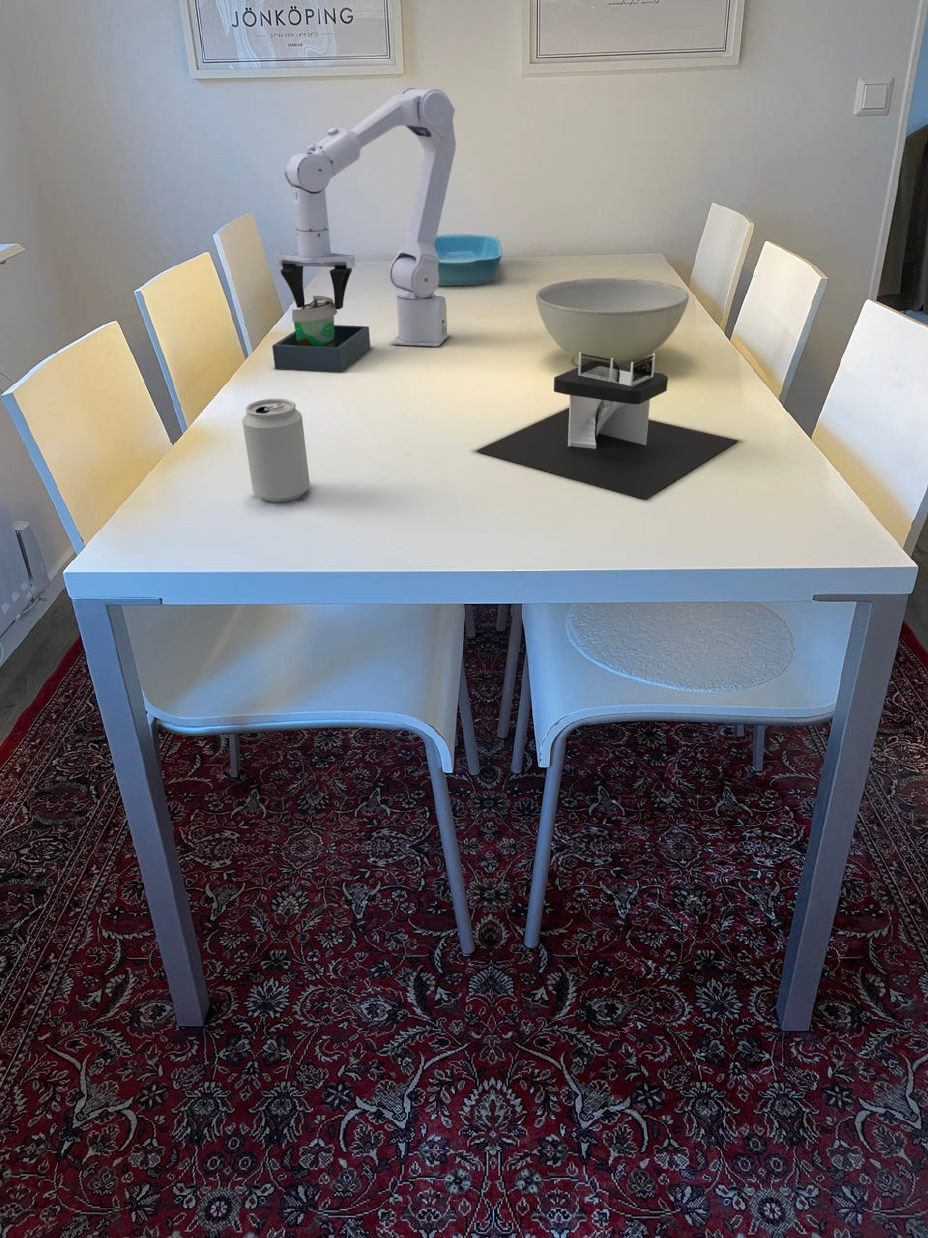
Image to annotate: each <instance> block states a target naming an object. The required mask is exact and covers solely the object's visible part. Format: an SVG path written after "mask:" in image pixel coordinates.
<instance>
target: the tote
mask: <svg viewBox="0 0 928 1238" xmlns="http://www.w3.org/2000/svg"><path fill="white" fill-rule="evenodd" d="M334 345H335V347H317V346H298V345H297V339H296V332H295V330H293V331H292V332H291V333H290V334H288V335H286V336H285V337H283V338H282V339H280V340H279V341H277V342H276V343H273V344H272V347H271V348H272V355H273V363H274V364H273V365H274V369H275V370H286V371H288V370H289V371H305V372H306V371H307V372H308V371H309V372H327V373H343V372H344V371H345V370H347V369H348V368H349V367H350V366H352V365H353V364H354V363H355V362H356V361H357V360H359V359H360V358H361V357H362V356H364V355H365V354H366V353H367V352H369V351H370V350H371V348H372V347H371V337H370V327H369V326H368V325H367V326H366V325H365V326H364V325H343V324H334Z"/></svg>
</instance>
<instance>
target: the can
mask: <svg viewBox="0 0 928 1238" xmlns="http://www.w3.org/2000/svg"><path fill="white" fill-rule="evenodd" d="M296 407H297V405H296V402H295V401H293V400H291V399H286V398H266V399H261V400H256V401H252V403H249V404H247V406H246V407H245V412H246V413H245V415H244V416H243V418H242V419H241V421H242V427H243V433H244V434H243V435H244V440H245V446H246V447H245V448H246V454H247V460H248V461H247V462H248V468H249V474H250V480H251V489H252V493H253V494H255V496H257V497H259V498H260V499H261V500H264V501H266V502H270V503H285V502H290V501H294V500H297V499H299V498H301V497H302V496H303V495H304V494H305V492H306V491H308V490H309V488H310V486H311V483H310V475H309V466H308V465H309V464H308V456H307V448H306V440H305V439H306V438H305V431H304V422H303V415H302V413H301V412H300V411H299V410H298V409H297V408H296Z"/></svg>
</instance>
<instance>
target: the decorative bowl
mask: <svg viewBox="0 0 928 1238" xmlns="http://www.w3.org/2000/svg"><path fill="white" fill-rule="evenodd" d="M689 299H690V297H689V293H688V292H687V291H686V289H683V288H681V287H679V286H676V285H674V284H671V283H668V282H667V283H666V282H661V281H655V280H649V279H641V278H627V277H626V278H625V277H599V278H598V277H595V278H593V277H592V278H582V279H581V278H580V279H572V280H565V281H560V282H556V283H552V284H549V285H547V286H546V285H545V286H543V287H542V288H540V289H539V290H537V292H536V294H535V300H536V306H537V309H538V312H539V315H540V318H541V320H542V323H543V325H544V327H545V329H546V330H547V332H548V334H549V335H550V337H551V338H552V340H553V341H554V342H555V343H556V344H557V346H558V347H560V348H561V350H563V351H565V352H566V353H567V354H568V355H570V356H572V357H573V362H574V363H575V365H577V366H579V352H582V354H586V355H591V356H596V357H601V358H606V359H611V358H613V360H614V361H615V363H616V364H617V365H622V366H627V367H631V362H634V363H637V362H639V361H641V360H644V359H645V358H647V356H649V355H651V354H653V353H654V352H655V351H657V350H658V349H660V348H661V347H662V345H663V344H664V343H666V341H667V340H668V339H669V338H670V337H671V335H672V334H673V332H675V330H676V328H677V327H678V325H679V324H680V321H681V320H682V317H683V316H684V314H685V310H686V308H687V306H688V303H689ZM581 358H582V359H583V358H584V356H583V355H582V356H581ZM587 359H588V360H589V359H590V357H589V356H586V359H585V362H586V364H587ZM592 360H595V361H596V358H595V357H592ZM592 360H591V362H592ZM598 361H601V359H600V358H598ZM603 362H607V361H606V360H605V359H603ZM608 362H609V363H611V361H610V360H608ZM583 363H584V362H583ZM615 363H614V362H613V364H615ZM581 366H582V363H581ZM638 366H639V363H638ZM635 367H636V364H635V366H634V368H635Z"/></svg>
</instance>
